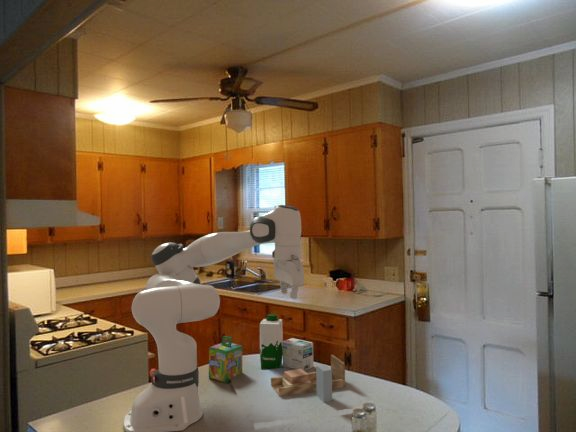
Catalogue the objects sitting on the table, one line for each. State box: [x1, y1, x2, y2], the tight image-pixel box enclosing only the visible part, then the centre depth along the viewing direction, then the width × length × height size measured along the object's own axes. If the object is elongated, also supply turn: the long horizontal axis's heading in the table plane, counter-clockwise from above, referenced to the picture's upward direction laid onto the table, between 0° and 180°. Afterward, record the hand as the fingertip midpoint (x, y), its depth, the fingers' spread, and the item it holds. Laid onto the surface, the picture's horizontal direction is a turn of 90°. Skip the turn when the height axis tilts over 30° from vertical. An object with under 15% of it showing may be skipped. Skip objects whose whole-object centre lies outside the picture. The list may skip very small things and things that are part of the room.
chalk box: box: [208, 335, 243, 384], centre depth 162 cm, size 9×9×15 cm
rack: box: [270, 354, 346, 397], centre depth 149 cm, size 23×10×9 cm, turn 108°
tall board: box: [315, 364, 333, 403], centre depth 139 cm, size 3×6×11 cm, turn 19°
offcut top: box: [283, 369, 309, 384], centre depth 148 cm, size 6×6×2 cm
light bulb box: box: [282, 337, 314, 372], centre depth 169 cm, size 11×7×11 cm, turn 49°
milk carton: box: [259, 313, 284, 370], centre depth 172 cm, size 9×9×20 cm
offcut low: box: [282, 378, 311, 387], centre depth 148 cm, size 8×7×2 cm
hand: (288, 295), depth 144 cm, fingers open, 8 cm apart
